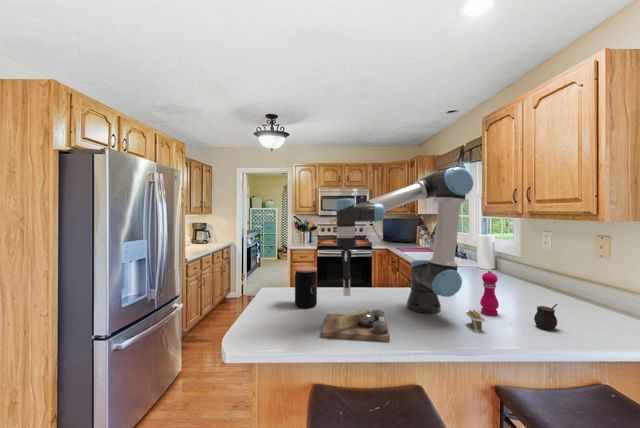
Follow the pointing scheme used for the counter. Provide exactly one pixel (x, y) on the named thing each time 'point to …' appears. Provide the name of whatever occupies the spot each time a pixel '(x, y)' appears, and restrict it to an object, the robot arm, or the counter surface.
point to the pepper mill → (489, 294)
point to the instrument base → (357, 329)
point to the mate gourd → (545, 317)
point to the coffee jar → (305, 287)
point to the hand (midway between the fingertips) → (346, 295)
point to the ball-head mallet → (357, 319)
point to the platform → (476, 319)
